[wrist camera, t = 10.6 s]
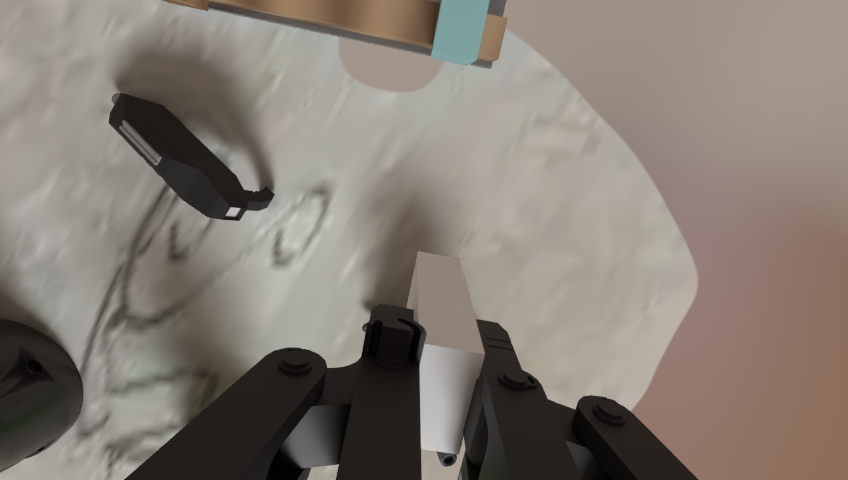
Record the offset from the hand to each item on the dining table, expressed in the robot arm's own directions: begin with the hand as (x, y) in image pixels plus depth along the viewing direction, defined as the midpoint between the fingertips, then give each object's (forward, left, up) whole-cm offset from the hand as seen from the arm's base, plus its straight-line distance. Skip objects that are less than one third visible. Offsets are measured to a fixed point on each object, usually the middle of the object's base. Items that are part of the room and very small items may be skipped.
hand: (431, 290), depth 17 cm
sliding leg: (0, +15, -27) cm, 31 cm away
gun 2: (-20, -2, -29) cm, 35 cm away
